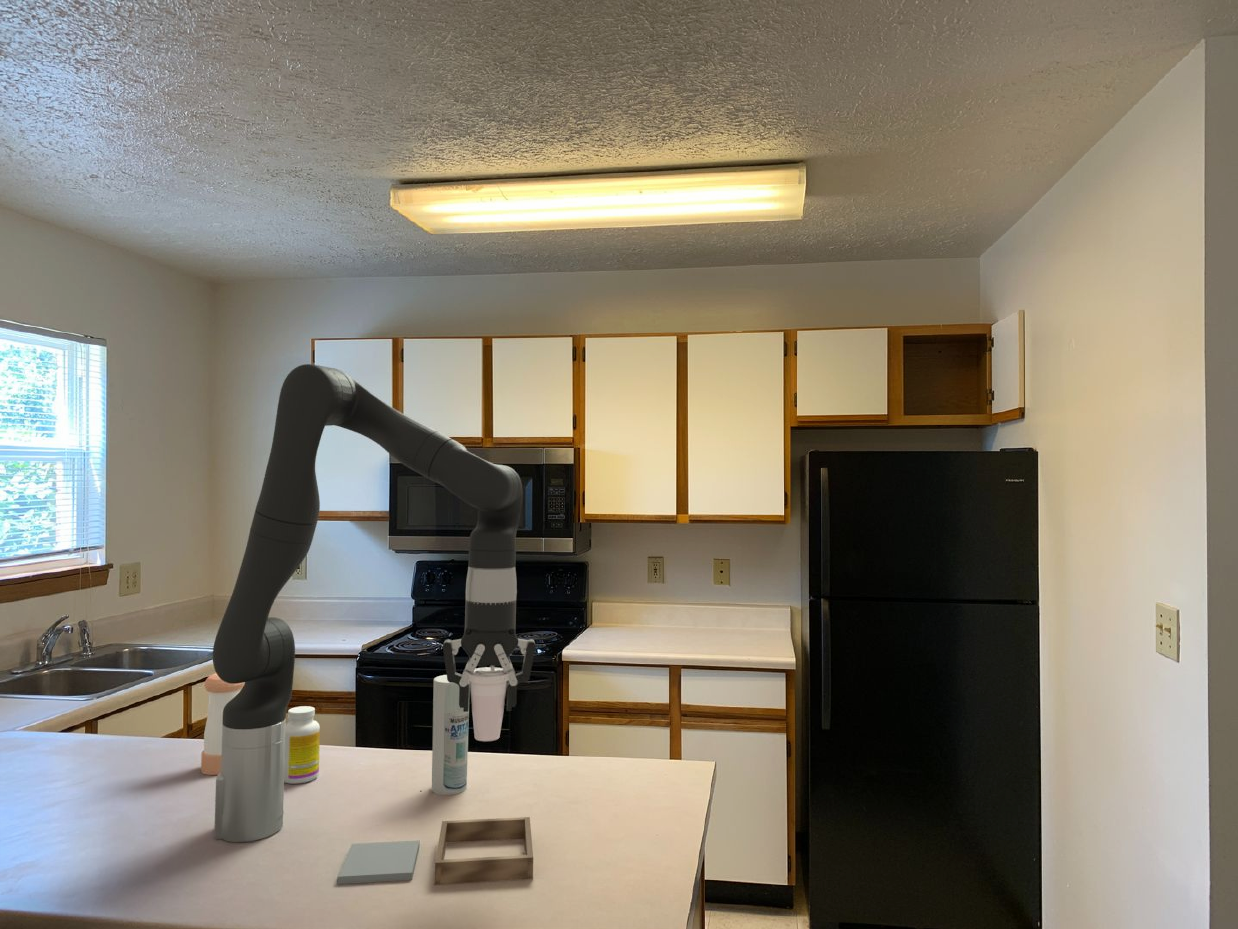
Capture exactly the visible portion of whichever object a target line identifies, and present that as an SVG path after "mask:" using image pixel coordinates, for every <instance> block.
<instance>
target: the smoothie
mask: <svg viewBox="0 0 1238 929" xmlns="http://www.w3.org/2000/svg"><path fill="white" fill-rule="evenodd" d="M508 675H509V674H505V672H504V670H503V668H502V667H496V666H492V665H490V666H489V667H487V666H484V667H478V668H477V667H476V668H475V670H474V672H473V674H472V675H471V674H469V680H468V681H469V682H470V691H469V695H470V702H471V713H472V714H471V715H472V721H473V722H472V723H473V724H472V725H473V734H474V735H473V736H474V739H475V740H476V741H479V742H493V741H497V740H498V739H499V738H500V737H501V736H500V735H501V732H502V731H501V730H502V723H503V718H504V709H505V702H506V698H507V683H509V681H508V680H509V679H508Z"/></svg>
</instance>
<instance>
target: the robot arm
mask: <svg viewBox="0 0 1238 929" xmlns="http://www.w3.org/2000/svg"><path fill="white" fill-rule="evenodd" d="M276 409H277V410H276V416H275V417H276V418H275V423H274V429H273V430H274V431H273V438H272V442H271V443H272V444H271V448H270V453H269V458H268V461H267V465H266V468H265V472H264V478H263V482H262V485H261V489H260V492H259V496H258V500H257V503H256V506H255V510H254V513H253V518H252V522H251V525H250V529H249V533H248V534H249V535H248V539H247V543H246V547H245V551H244V554H243V558H242V560H241V564H240V568H239V570H238V571H239V572H238V574H237V578H236V581H235V584H234V587H233V590H232V593H231V596H230V599H229V602H228V603H227V605H226V606H227V607H226V608H225V612H224V615H223V616H222V620H221V621H220V624H219V627H218V631H217V633H216V636H215V639H214V643H213V646H212V647H213V648H212V665H213V668H214V671H215V673H216V674H217V675H218V676H219V678H220V679H221V680H223V681H224V682H227V683H231V684H236V683H243V682H245V683H244V686H243V687H242V688H241V689H240V692H239V693H238V694H237V695H236V696H235V697H234V698H233V699H232V700H230V701H229V702H228V703H227V704H226V705H225V707H224V709H223V721H222V755H221V773H220V774H219V775H216V778H215V794H214V795H215V797H214V799H215V800H214V826H213V827H214V829H213V831H214V833H213V835H214V836H213V839H214V840H219V839H220V840H224V841H226V842H232V843H246V842H253V841H258V840H261V839H264V838H268V837H270V836H272V835H274V834H276V833H278V832H279V831H280V830H281V829H282V828H283V825H284V801H285V800H284V798H285V796H284V793H285V792H284V791H285V790H284V789H285V782H284V767H285V731H286V724H287V723H286V722H287V721H286V720H287V709H288V706H289V704H290V701H291V699H292V694H293V684H294V672H295V664H296V663H295V662H296V644H295V638H294V634H293V631H292V629H291V627H290V626H289V624H288V623H287V622H286V621H284V619H281V618H278V617H269V615H270V612H271V609H272V607H273V604H274V602H275V600H276V598H277V597H278V595H279V594H280V592H281V591H282V590H283V588H284V586H285V585H286V584H287V583H288V582H289V580H290V579H291V577H292V576H293V575H294V574H295V573H296V571H297V569H299V567H300V566H301V564H302V563H303V561H304V559H305V558H306V556H307V555H308V553H309V551H310V549H311V546H312V543H313V540H314V535H315V532H316V527H317V524H318V522H319V521H318V520H319V516H320V511H321V510H320V509H321V508H320V506H321V502H320V494H319V492H320V491H319V487H318V479H317V472H316V460H317V456H318V455H317V454H318V450H319V446H320V442H321V440H322V436H323V433H324V430H325V427H326V426H327V427H329V426H330V427H331V426H336V427H340V428H343V429H345V430H348V431H352V432H354V433H357V434H358V435H359V434H360V435H361V436H364V437H366V438H368V439H369V440H371V441H372V442H375V443H376V444H377V445H379V446H380V447H381V448H382V449H384V450H385V451H386V452H387V453H388V454H389V455H390V456H392V457H393V458H394V459H395V460H397V461H398V462H399V463H400V464H402V465H404V466H405V467H407V468H408V469H410V470H412V471H413V472H416V473H418V474H419V475H421V476H423V477H424V478H426V479H428V480H430V481H432V482H434V483H436V484H439V485H441V486H442V487H444V488H445V489H446V490H448V492H449V493H451V494H452V495H454V496H456V497H457V498H458V499H460V500H462V501H463V502H464V503H466V504H467V505H470V506H471V507H473V508H475V509H478V513H477V521H476V523H477V524H476V526H475V528H474V529H473V530H472V531H471V532H470V536H469V542H468V563H467V564H468V567H467V574H466V582H465V607H464V608H465V610H464V614H465V616H464V632H463V635H462V637H461V638H459V639H453V640H452V639H449V638H447V639H445V640H444V642H443V645H442V650H443V658H444V665H445V666H444V667H445V673H446V674H445V675H447V680H448V682H450V683H452V682H453V683H456V684H458V686H459V706H460V708H464V709H463V712H468V710H469V711H470V691H469V684H468V682H469V681H468V680H469V674H471V675H472V674H473V672H474V670H475V669H477V666H478V667H487V666H491V665H492V666H494V667H500V666H501V668H503V670H504V672H505V674H509V675H508V679H509V680H508V683H507V691H506V712H512V708H516V705H517V699H518V698H517V695H518V692H517V691H518V686H519V684H521V683H526V682H528V681H530V679H531V678H530V677H531V672H532V667H533V661H534V656H535V651H536V642H535V640H534V639H533V638H529V639H522V638H518V635H517V634H516V625H517V623H516V621H517V619H516V618H517V616H516V614H517V594H518V589H517V586H518V585H517V582H518V581H517V572H516V571H517V570H516V560H517V558H516V556H517V555H516V554H517V542H516V541H517V540H516V537H517V531H518V529H519V528H518V527H519V523H520V519H521V518H520V517H521V512H522V511H521V510H522V504H523V494H524V492H523V484H522V480H521V478H520V475H519V473H518V472H516V471H515V469H514V468H512V467H510V466H508V465H503V464H494V463H493V462H491V461H488V460H486V459H483V458H481V457H480V456H477V455H476V454H474V453H472V452H470V451H468V449H467V448H466V446H465V445H463V444H462V443H460V442H459V441H457V440H455V439H453V438H451V437H449V436H447V435H446V434H444V433H441V432H440V431H438V430H437V429H434V428H432V427H430V426H429V425H426V424H424V423H422V422H420V421H418V420H416V419H414V418H412V417H410V416H409V415H406V414H405V413H403V412H401V411H399V410H397V409H395V408H394V407H393V406H391V405H389V404H387V403H386V402H385V401H383V400H382V399H380V398H379V397H377V395H375V394H373V393H372V392H370V391H369V390H368V389H367V388H366V387H364V386H363V385H362V384H360V382H357V381H356V380H355V379H354V378H353V377H351V376H350V375H349V374H347V373H346V372H344V371H343V370H340V369H338V368H334V367H328V366H322V365H319V364H313V363H305V364H301V365H298V366H296V367H295V368H293V369H292V370H290V372H289V373H288V374H287V376H285V379H284V380H283V383H282V385H281V388H280V392H279V396H278V403H277V408H276ZM460 647H462V649H463V651H465V653H466V654H467V655H468V657H469V659H468V661H467V663H466V664H465V667H464V670H463V672H462V674H461V673H458V672H457V669H456V661H455V660H456V659H455V656H456V655H457V654H458V653H459V649H460ZM517 647H519V648H520V652H521V654H522V655H523V662H522V667H521V671H519V672H517V673H516V671H515V668H514V667H513V664H512V662H511V659H510V657H511V655H512V654H513V652H514V651H515V650H516V648H517Z"/></svg>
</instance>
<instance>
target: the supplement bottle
mask: <svg viewBox="0 0 1238 929" xmlns="http://www.w3.org/2000/svg"><path fill="white" fill-rule="evenodd" d="M315 713H316V709H315V707H313V706H310V705H309V706H307V705H303V706H301V705H300V706H295V707H292V708H290V709H288V711H287V718H288V722H287V723H286V731H285V767H284V784H290V785H298V784H305V783H309V782H311V781H313V780H315V779H316V778H318V777H319V774H320V737H321V736H320V735H321V731H320V730H321V727H320V723H319V722H318V721H317V720H314V718H315V715H316V714H315Z"/></svg>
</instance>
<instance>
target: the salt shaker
mask: <svg viewBox="0 0 1238 929" xmlns="http://www.w3.org/2000/svg"><path fill="white" fill-rule="evenodd" d="M244 684H245V682H243V683H236V684H231V683H227V682H224V681H223V680H221V679H220V678H219V676H218V675H217V674H216V672H215V673H213V674H211V675H209V676H208V677H207V678H206V679H205V682H204V689H205V690H206V692H208V706H207V707H208V708H207V717H206V722H205V727H204V733H203V750H202V752H201V759H200V760H201V761H200V762H201V763H200V772H201V774H204V775H206V776H207V775H209V776H210V775H211V776H218V775H219V774H220V773H221V755H222V721H223V709H224V707H225V705H226V704H227V703H228V702H229V701H230V700H232V699H233V698H234V697H235V696H236V695H237V694H238V693H239V692H240V691H241V689H242V688H243V686H244Z"/></svg>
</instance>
